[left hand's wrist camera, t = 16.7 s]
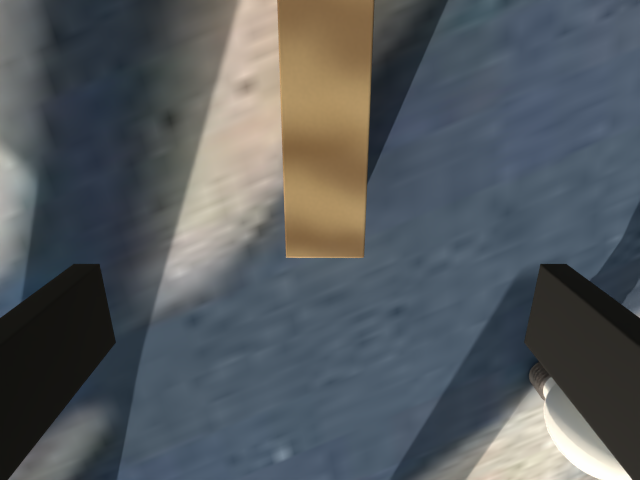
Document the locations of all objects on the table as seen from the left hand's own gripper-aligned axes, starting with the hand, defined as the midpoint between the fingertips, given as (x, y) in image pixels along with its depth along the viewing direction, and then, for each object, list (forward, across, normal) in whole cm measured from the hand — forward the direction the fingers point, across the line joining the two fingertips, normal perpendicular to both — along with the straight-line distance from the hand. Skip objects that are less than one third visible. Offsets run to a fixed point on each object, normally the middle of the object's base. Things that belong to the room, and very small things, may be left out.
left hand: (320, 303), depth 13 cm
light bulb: (+22, -22, +20) cm, 37 cm away
